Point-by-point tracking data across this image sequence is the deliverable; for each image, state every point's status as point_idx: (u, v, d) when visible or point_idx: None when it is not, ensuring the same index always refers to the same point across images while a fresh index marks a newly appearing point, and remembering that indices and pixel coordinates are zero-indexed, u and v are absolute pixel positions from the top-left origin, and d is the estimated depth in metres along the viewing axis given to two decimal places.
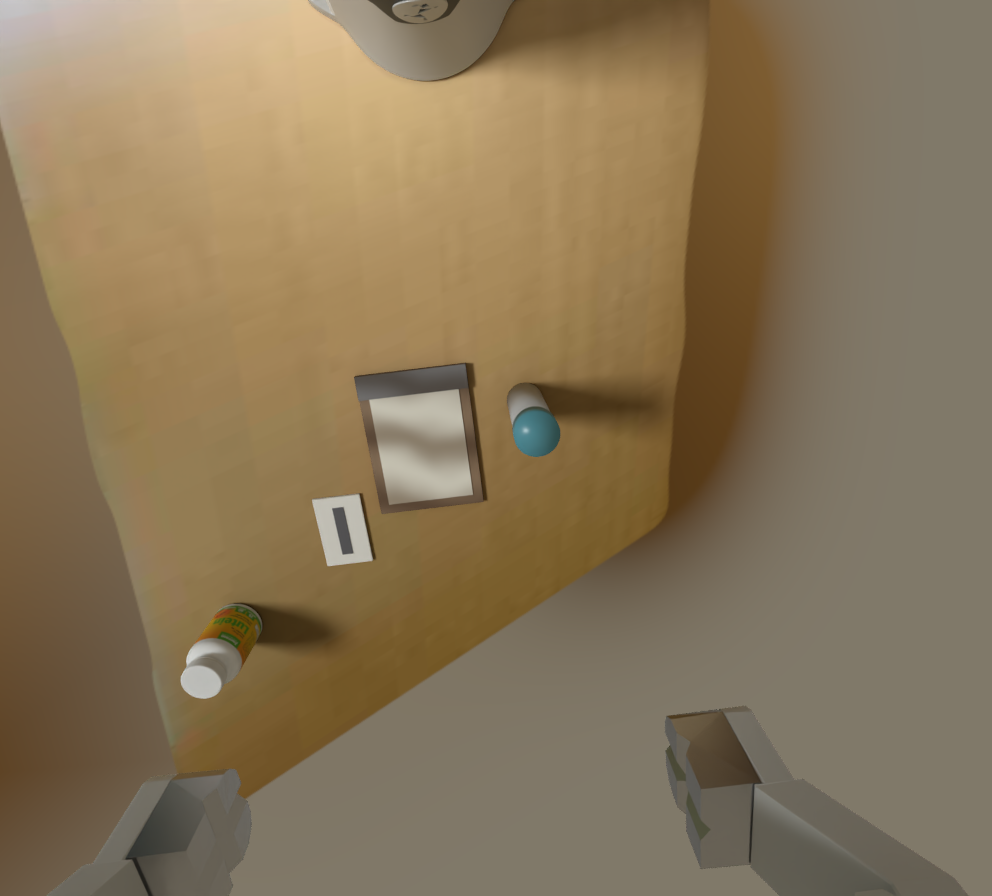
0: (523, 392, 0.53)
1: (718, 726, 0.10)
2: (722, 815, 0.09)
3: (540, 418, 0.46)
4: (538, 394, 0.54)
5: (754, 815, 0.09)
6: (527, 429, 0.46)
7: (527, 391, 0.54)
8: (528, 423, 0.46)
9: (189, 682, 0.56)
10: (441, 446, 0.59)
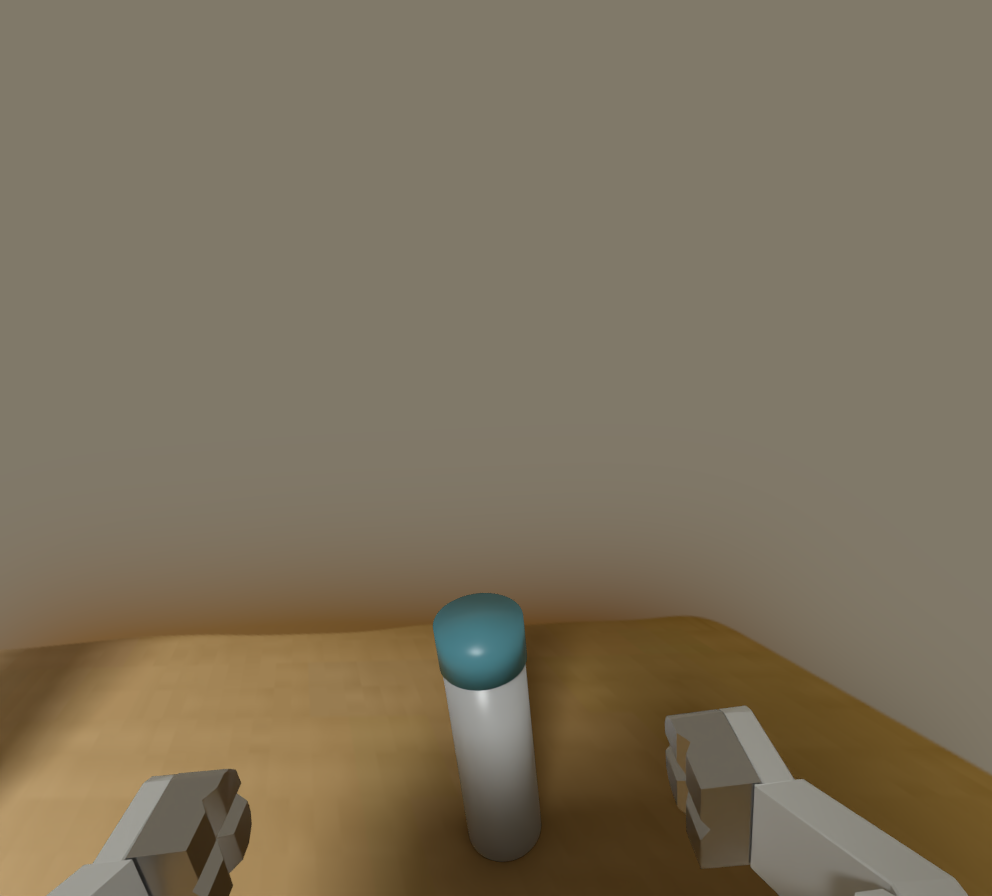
0: (458, 770, 0.26)
1: (718, 726, 0.10)
2: (722, 815, 0.09)
3: (446, 616, 0.24)
4: None
5: (754, 815, 0.09)
6: (464, 632, 0.23)
7: None
8: (452, 631, 0.23)
9: None
10: None
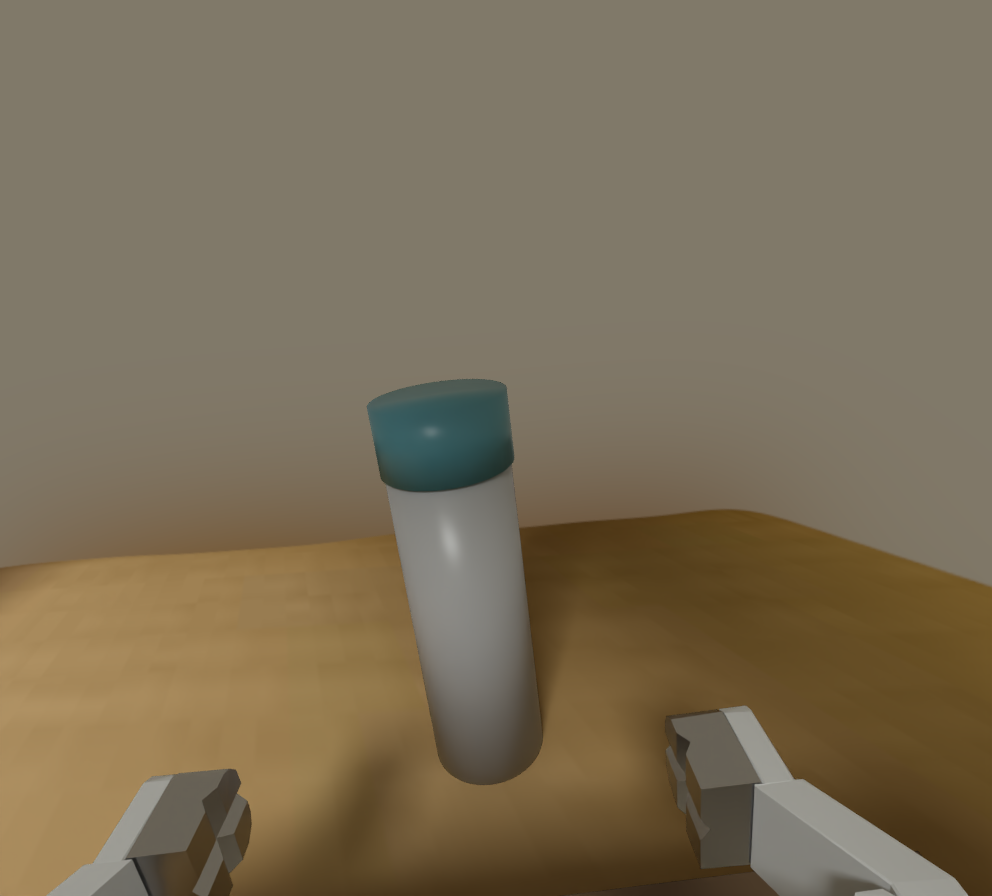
0: None
1: (718, 726, 0.10)
2: (722, 815, 0.09)
3: (389, 398, 0.16)
4: None
5: (754, 815, 0.09)
6: (414, 404, 0.15)
7: None
8: (395, 405, 0.15)
9: None
10: None
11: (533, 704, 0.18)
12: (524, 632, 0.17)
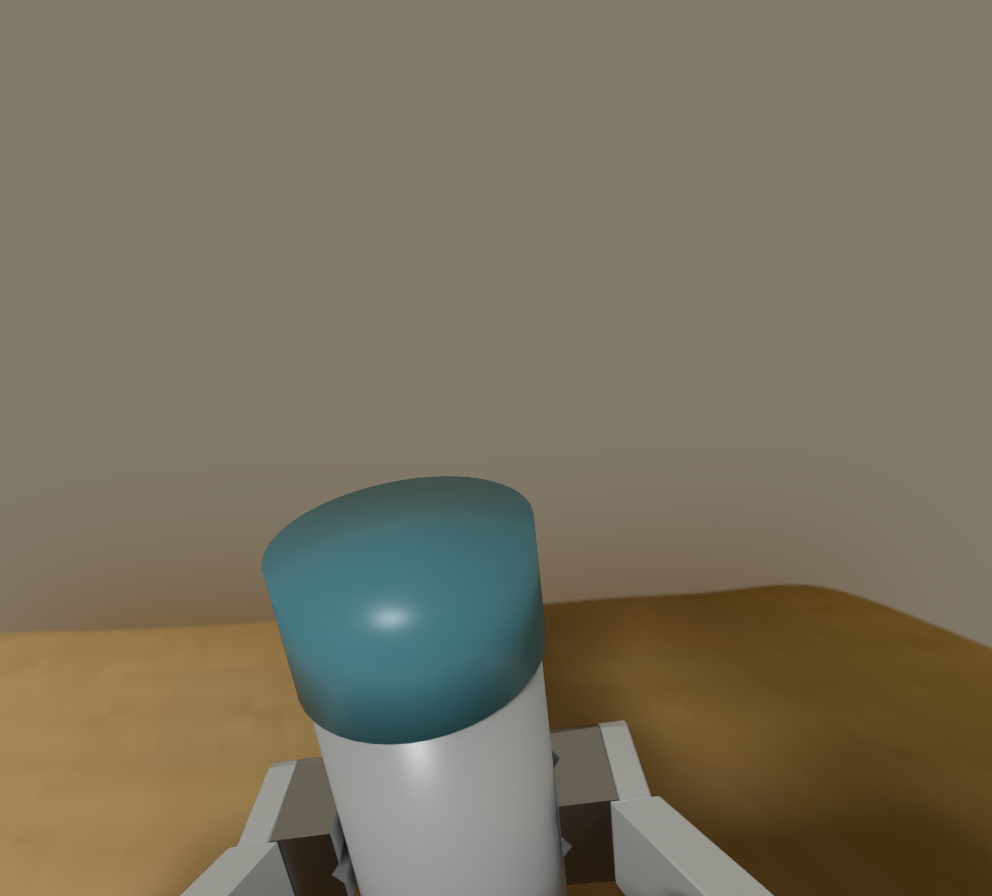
0: None
1: (591, 741, 0.10)
2: (582, 832, 0.09)
3: (314, 526, 0.08)
4: None
5: (613, 832, 0.09)
6: (352, 558, 0.07)
7: None
8: (316, 557, 0.08)
9: None
10: None
11: None
12: None
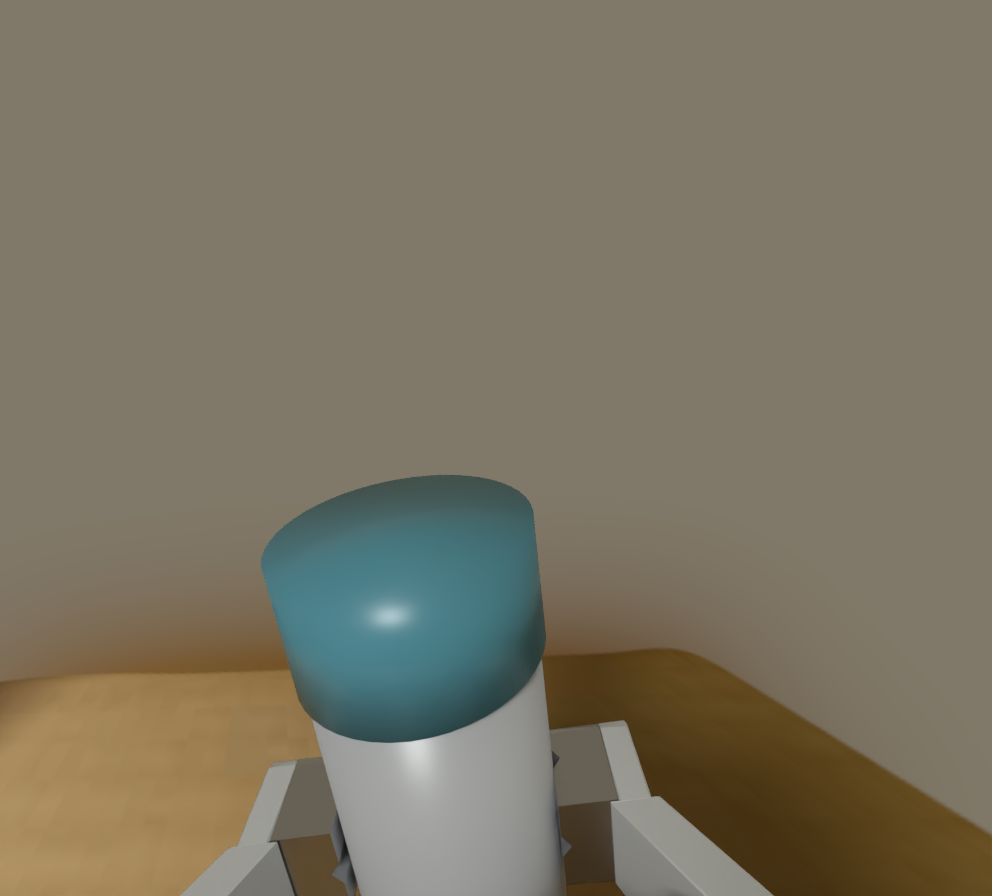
0: None
1: (591, 741, 0.10)
2: (582, 831, 0.09)
3: (314, 524, 0.08)
4: None
5: (613, 832, 0.09)
6: (352, 557, 0.07)
7: None
8: (316, 555, 0.08)
9: None
10: None
11: None
12: None
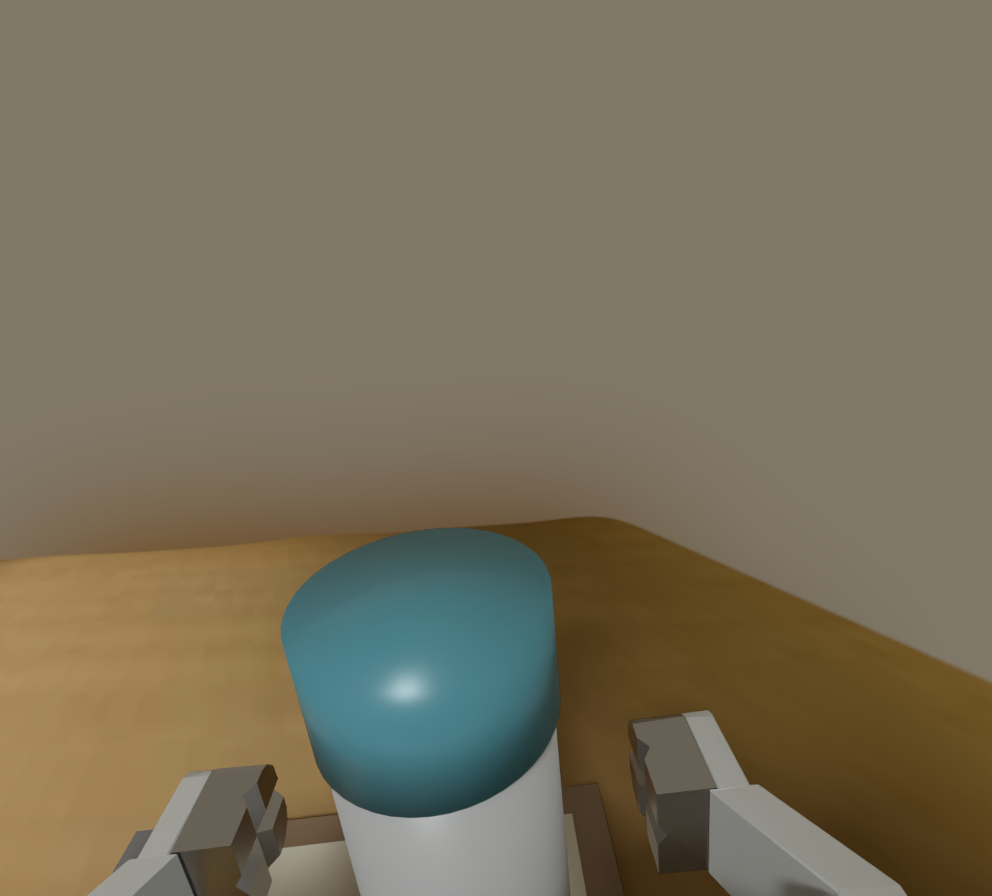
0: None
1: (678, 731, 0.10)
2: (678, 821, 0.09)
3: (331, 586, 0.09)
4: None
5: (710, 820, 0.09)
6: (372, 629, 0.07)
7: None
8: (336, 627, 0.08)
9: None
10: None
11: None
12: None
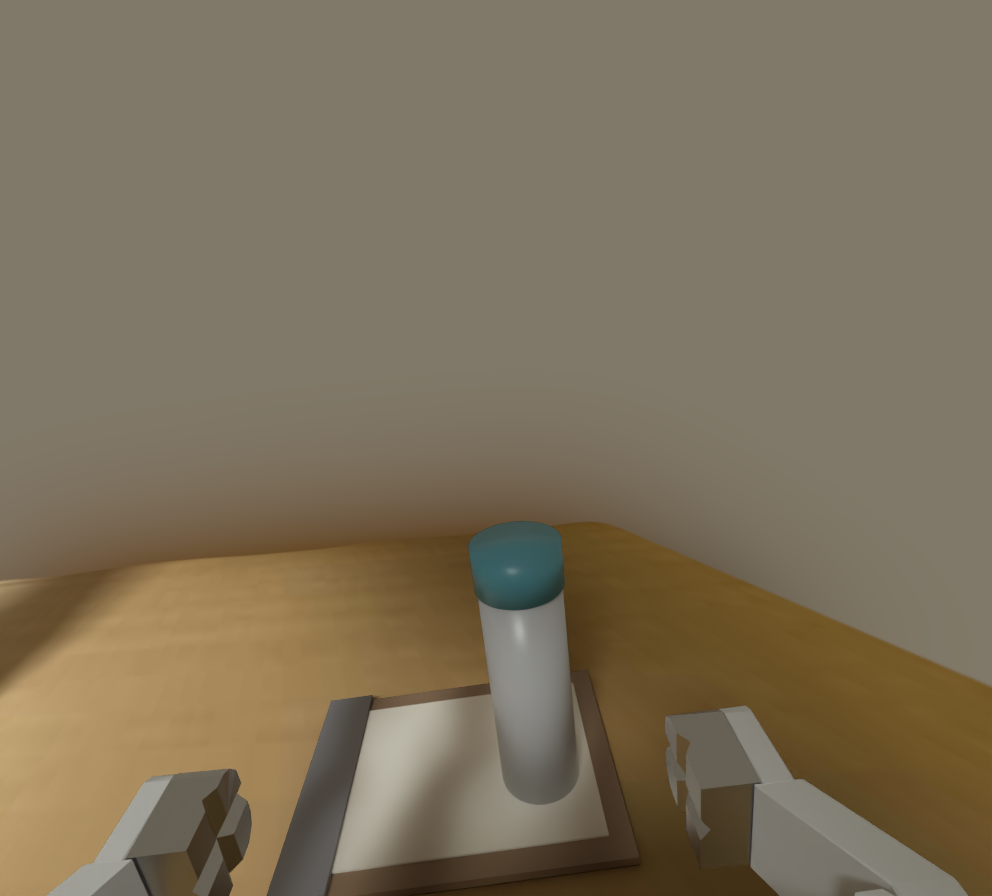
0: (493, 708, 0.25)
1: (718, 726, 0.10)
2: (722, 815, 0.09)
3: (481, 540, 0.24)
4: None
5: (754, 815, 0.09)
6: (501, 551, 0.23)
7: None
8: (489, 551, 0.23)
9: None
10: (472, 732, 0.30)
11: (573, 747, 0.25)
12: (569, 697, 0.25)
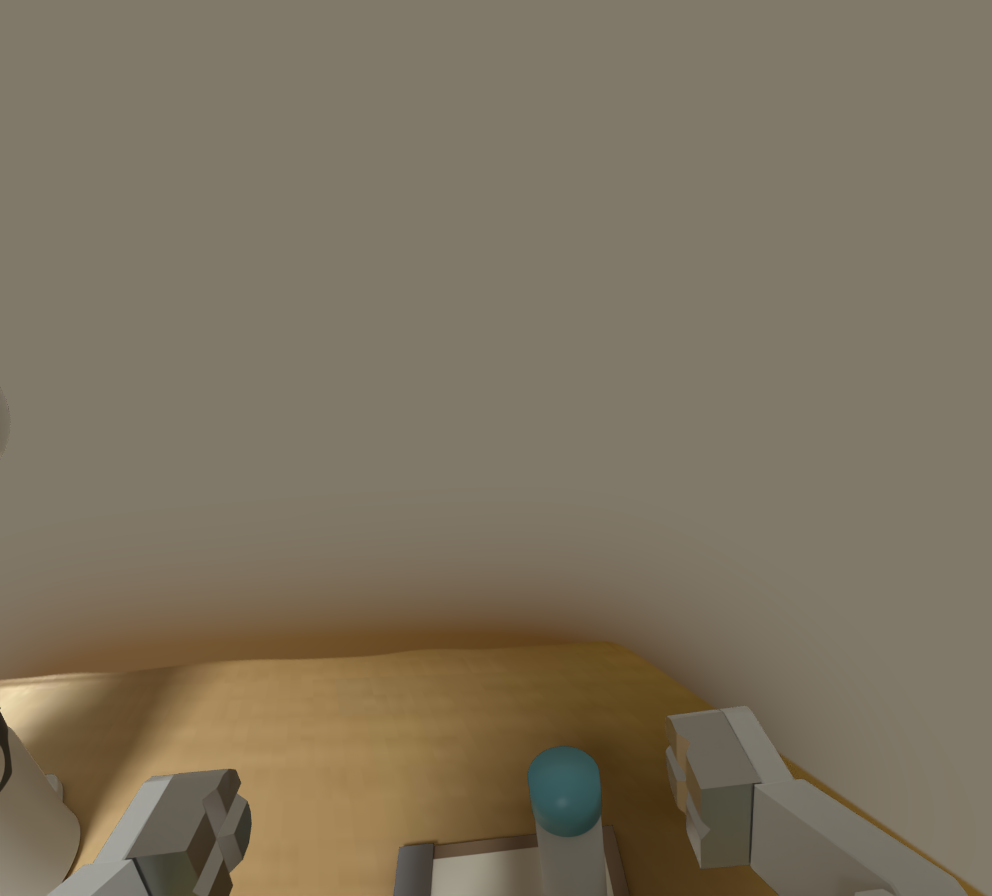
0: (544, 893, 0.32)
1: (718, 726, 0.10)
2: (722, 815, 0.09)
3: (537, 772, 0.30)
4: None
5: (754, 815, 0.09)
6: (555, 788, 0.29)
7: (543, 887, 0.32)
8: (545, 787, 0.29)
9: None
10: (521, 889, 0.36)
11: None
12: (605, 886, 0.31)
